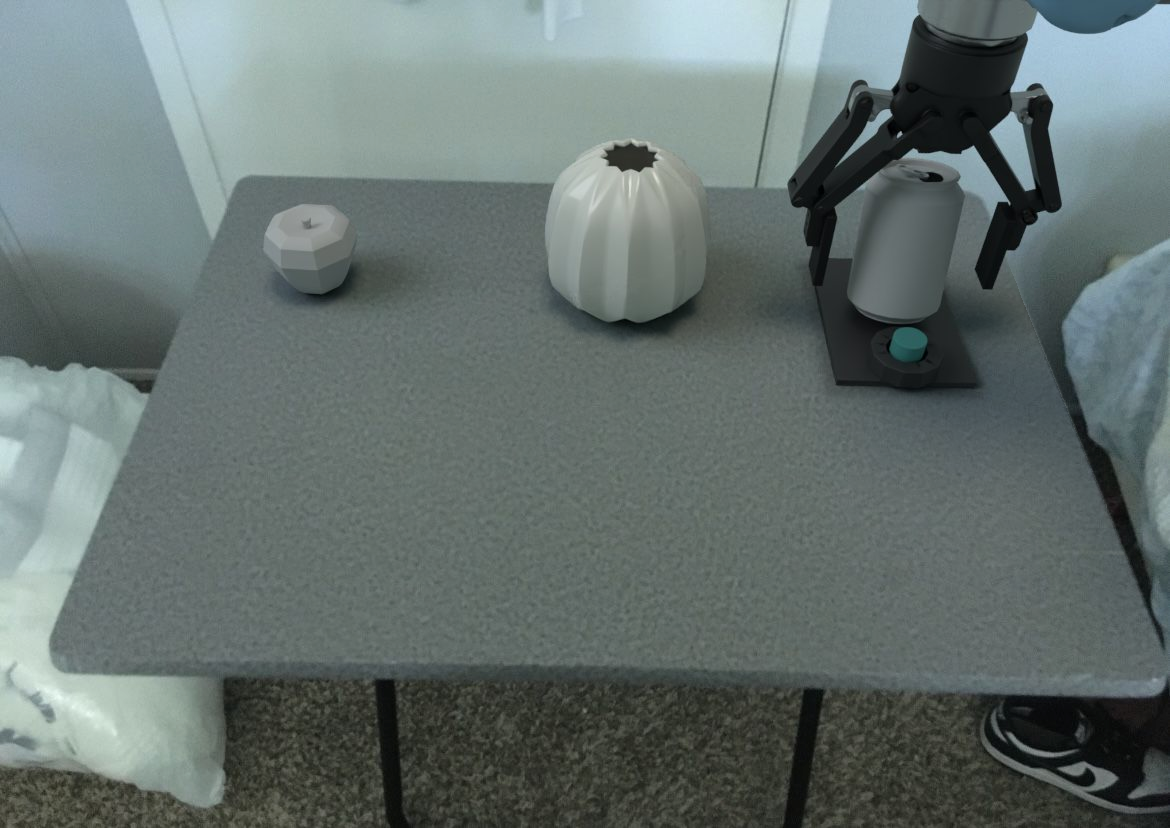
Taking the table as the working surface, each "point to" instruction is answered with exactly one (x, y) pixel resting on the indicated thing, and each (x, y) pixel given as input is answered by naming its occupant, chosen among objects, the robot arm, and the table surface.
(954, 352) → the scale
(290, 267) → the apple
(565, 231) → the vase
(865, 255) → the can
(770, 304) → the table surface
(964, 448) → the table surface
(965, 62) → the robot arm
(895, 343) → the button
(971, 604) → the table surface
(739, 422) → the table surface
